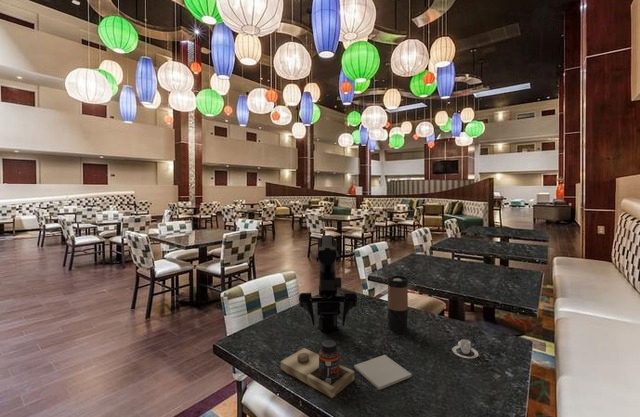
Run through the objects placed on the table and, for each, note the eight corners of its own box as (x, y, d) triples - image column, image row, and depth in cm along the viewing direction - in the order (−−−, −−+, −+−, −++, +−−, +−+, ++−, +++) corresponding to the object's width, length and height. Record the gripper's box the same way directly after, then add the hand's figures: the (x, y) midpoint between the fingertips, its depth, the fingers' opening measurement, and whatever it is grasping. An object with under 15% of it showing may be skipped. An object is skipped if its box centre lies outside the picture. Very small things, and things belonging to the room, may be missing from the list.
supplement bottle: (333, 390, 85) (332, 350, 84) (315, 383, 88) (314, 345, 87) (343, 378, 90) (342, 341, 89) (325, 372, 93) (325, 336, 92)
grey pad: (354, 367, 95) (354, 365, 95) (384, 357, 101) (384, 354, 101) (379, 390, 85) (379, 387, 85) (411, 376, 90) (411, 374, 90)
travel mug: (408, 333, 116) (408, 282, 115) (387, 332, 118) (387, 281, 116) (406, 324, 124) (407, 276, 122) (387, 323, 125) (387, 275, 124)
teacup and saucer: (458, 343, 109) (458, 332, 109) (482, 352, 104) (483, 340, 103) (448, 353, 103) (448, 341, 103) (473, 362, 97) (473, 350, 97)
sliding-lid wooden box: (354, 379, 89) (354, 367, 89) (332, 398, 82) (331, 385, 81) (304, 355, 103) (303, 344, 103) (280, 369, 95) (280, 357, 95)
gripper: (298, 268, 100) (296, 316, 89) (356, 267, 99) (360, 315, 89) (301, 284, 108) (299, 329, 98) (354, 284, 108) (357, 329, 97)
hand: (328, 325), depth 95 cm, fingers open, 9 cm apart
